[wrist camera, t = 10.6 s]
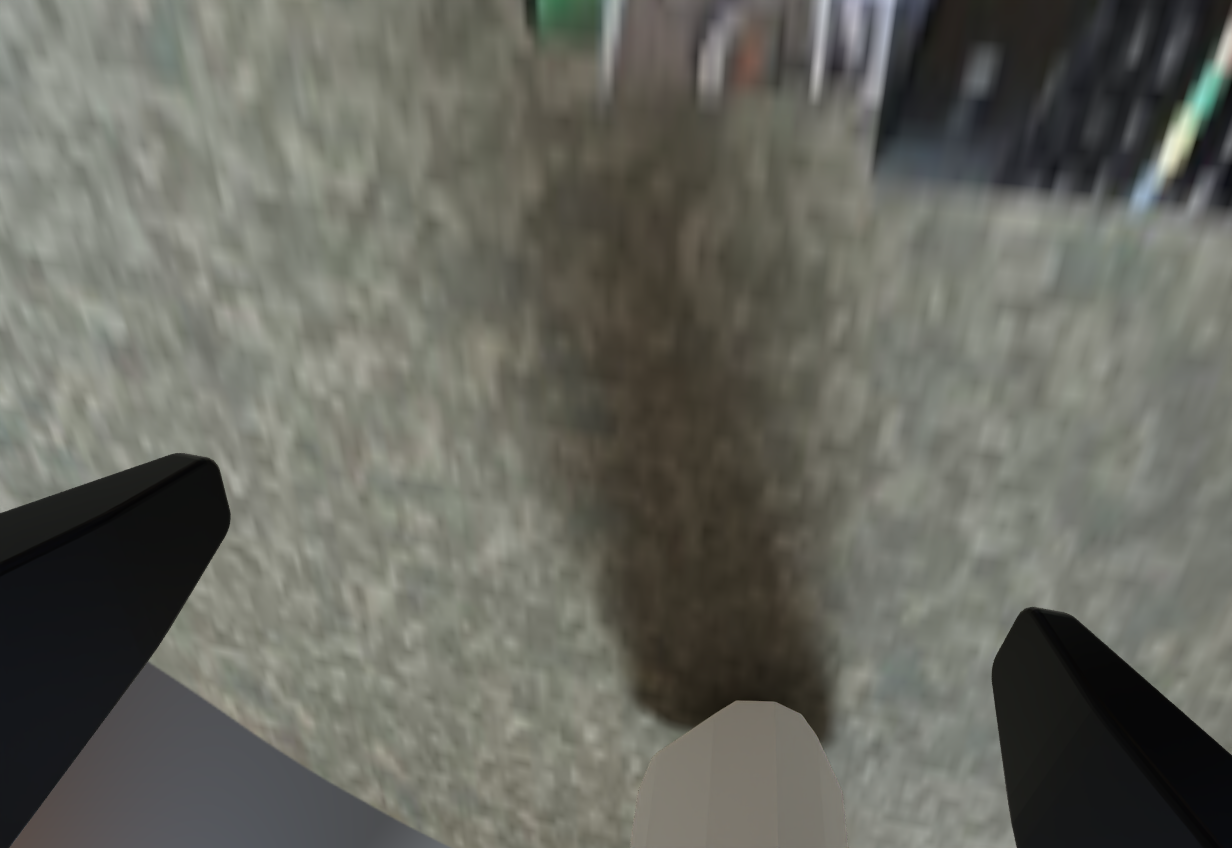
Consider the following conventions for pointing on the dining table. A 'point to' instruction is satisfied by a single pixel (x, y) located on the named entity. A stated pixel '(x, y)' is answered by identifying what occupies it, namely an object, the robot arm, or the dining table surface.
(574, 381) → the dining table surface
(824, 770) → the crystal
